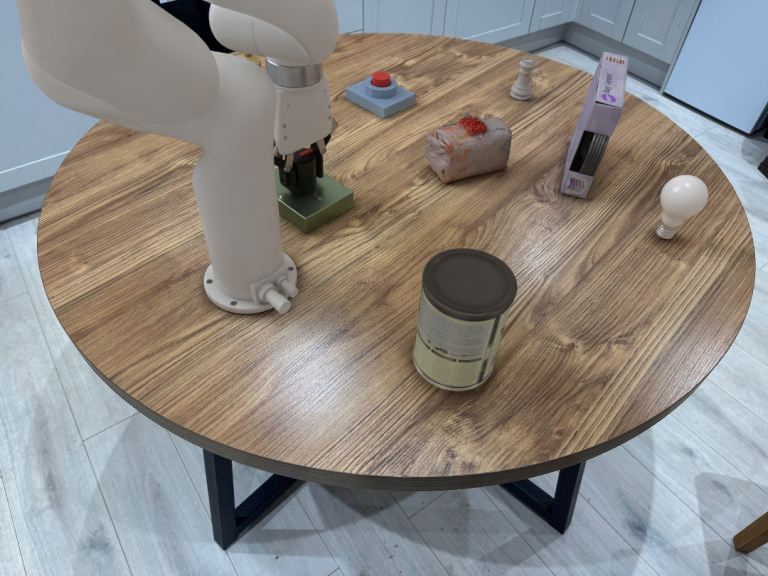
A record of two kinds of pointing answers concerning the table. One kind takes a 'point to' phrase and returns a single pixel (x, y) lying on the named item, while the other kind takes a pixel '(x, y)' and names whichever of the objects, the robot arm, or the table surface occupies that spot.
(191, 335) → the table surface
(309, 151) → the dial knob
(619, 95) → the cake pan box
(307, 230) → the knob console
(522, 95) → the rook chess piece
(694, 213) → the lightbulb
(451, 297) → the coffee can
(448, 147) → the food item
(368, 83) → the button box
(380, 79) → the button
